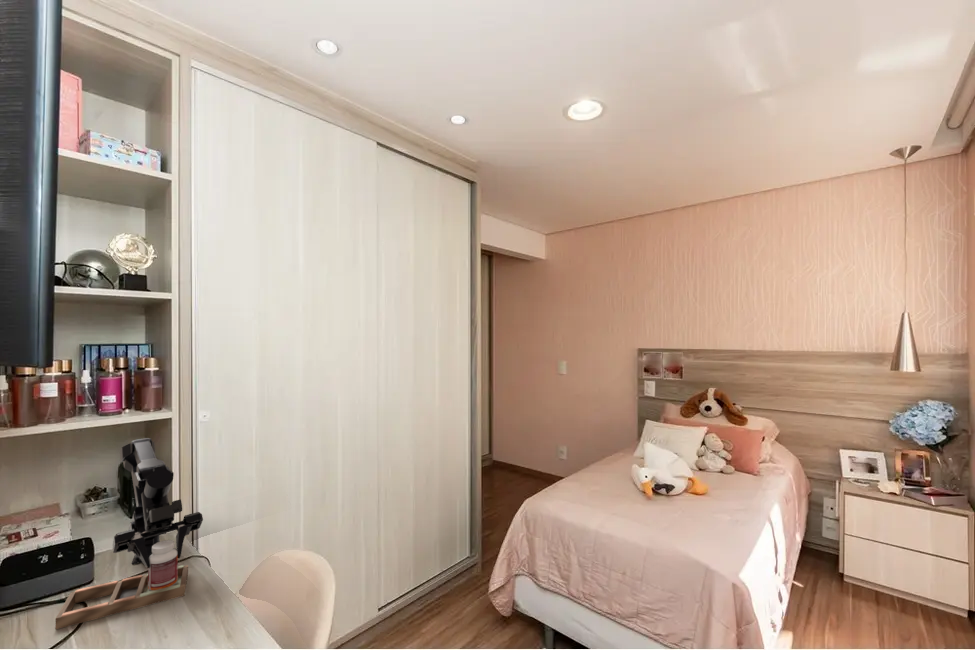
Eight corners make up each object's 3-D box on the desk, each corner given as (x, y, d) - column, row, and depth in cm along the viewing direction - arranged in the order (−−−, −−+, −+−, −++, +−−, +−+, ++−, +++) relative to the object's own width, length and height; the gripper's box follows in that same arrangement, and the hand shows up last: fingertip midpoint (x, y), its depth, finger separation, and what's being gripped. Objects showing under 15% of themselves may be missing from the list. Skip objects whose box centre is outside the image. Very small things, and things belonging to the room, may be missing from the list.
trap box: (55, 629, 98) (55, 617, 98) (70, 602, 107) (70, 591, 107) (184, 595, 110) (184, 584, 110) (188, 574, 120) (188, 563, 120)
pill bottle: (183, 582, 114) (183, 541, 114) (158, 596, 108) (158, 552, 108) (167, 576, 117) (168, 536, 116) (142, 590, 111) (142, 547, 111)
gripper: (114, 502, 108) (119, 564, 101) (201, 483, 122) (212, 536, 114) (110, 523, 114) (115, 582, 106) (194, 502, 127) (203, 554, 120)
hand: (164, 562), depth 111 cm, fingers closed on pill bottle, 6 cm apart
